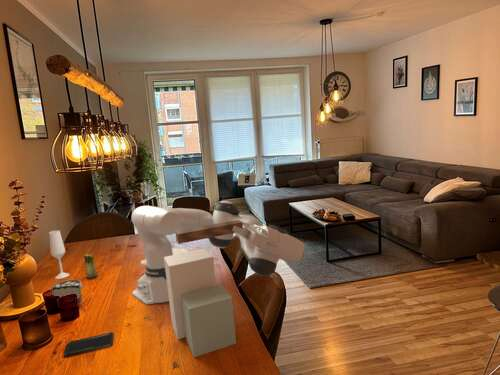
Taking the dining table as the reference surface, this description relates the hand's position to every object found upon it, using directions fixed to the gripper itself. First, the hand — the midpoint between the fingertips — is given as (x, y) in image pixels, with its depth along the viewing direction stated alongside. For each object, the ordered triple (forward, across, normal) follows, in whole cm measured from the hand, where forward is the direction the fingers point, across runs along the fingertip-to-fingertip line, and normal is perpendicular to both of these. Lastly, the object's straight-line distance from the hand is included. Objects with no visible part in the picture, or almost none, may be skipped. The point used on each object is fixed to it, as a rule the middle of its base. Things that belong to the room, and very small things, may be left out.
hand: (229, 226), depth 112 cm
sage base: (-10, -1, -38) cm, 39 cm away
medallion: (-11, +88, -38) cm, 96 cm away
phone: (+22, +19, -56) cm, 63 cm away
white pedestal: (-8, +11, -38) cm, 41 cm away
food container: (+28, +56, -60) cm, 87 cm away
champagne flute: (+35, +95, -64) cm, 119 cm away
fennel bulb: (+22, +83, -56) cm, 103 cm away
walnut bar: (+5, 0, -5) cm, 7 cm away
